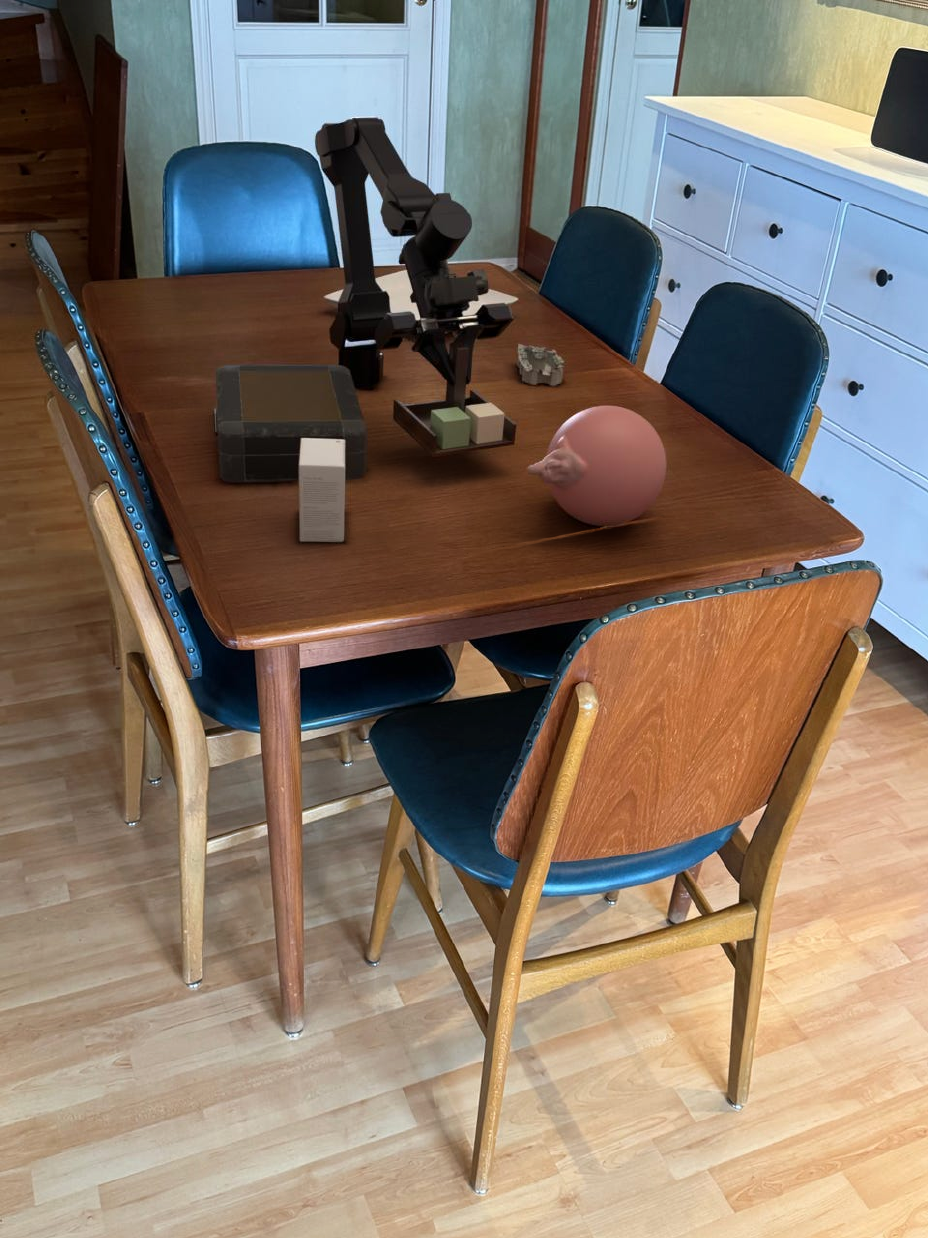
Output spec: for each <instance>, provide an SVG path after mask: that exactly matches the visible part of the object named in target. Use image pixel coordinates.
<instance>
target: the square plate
mask: <svg viewBox="0 0 928 1238" xmlns="http://www.w3.org/2000/svg"><path fill="white" fill-rule="evenodd" d="M375 279H376V282H377V284H378V285H379V286H380V288H381V289H382V291H387V293H388V295H389V297H390V310H391V312H392V313H396V312H407V311H411V312H412V313H413V314H414V315H415V319H416V320H420V315H419V312H418V308H417V305H416V303H411V299H410V295H411V294H412V292H413V291H412V287H411V284H410V280H409V277H408V273H407V270H406V269H404V270H401V271H400V270H399V271H397V272H393V273H390V274H385V275H381V276H379V277H375ZM343 289H344V288H343ZM343 289H340V290H337V291H334V292H331V293H329V294H325V295H324V296H323V299H324V300H325V301H327V302H328V304H330V305H331V306H332V307H334V308H336V309H338V301H339V299H340V296H341V294H342V292H343ZM478 298H479V301H476V302H475V301H471V302H469V305H470V307H469V308H468V310H467V311H463V312H462V313H463V316H467V315H475V313H476V312H477V311H478V310H479V309H480V307H481V306H482V305H485V304H496V303H505V304H506V305H508V306H509V307H510V306H512V305H513V304H514V303H515V302H517V301H519V298H518V297H516V296H513V295H510V294H506V293H503V292H500V291H497V290H494V289H491V288H489V291H488V293H487V294H484V295H478ZM449 333H450V332H445V335H446V334H449Z"/></svg>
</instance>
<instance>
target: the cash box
mask: <svg viewBox="0 0 928 1238" xmlns="http://www.w3.org/2000/svg"><path fill="white" fill-rule="evenodd" d="M215 382H216V383H215V385H216V386H215V387H216V404H215V408H214V409H212V422H213V434H214V435H215V436H216V437H217V447H218V463H219V464H218V466H219V476H220V478H221V479H222V480H223V482H227V483H232V484H239V483H240V484H241V483H242V484H243V483H247V484H248V483H283V482H286V483H288V482H290V483H291V482H297V481H299V455H300V442H301V438H315V439H342V440H345V480H358V479H362V478H364V477H365V476H366V473H367V459H368V457H367V456H368V455H367V454H368V428H367V425H366V422H365V417H364V415H363V411H362V408H361V405H360V401H359V398H358V394H357V390H356V387H354V384H353V380H352V377H351V374H350V370H349V369H348V368H346V367H344V366H342V365H339V364H226V365H222V366H219V368H217V369H216V373H215Z"/></svg>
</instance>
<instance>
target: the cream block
mask: <svg viewBox="0 0 928 1238" xmlns="http://www.w3.org/2000/svg"><path fill="white" fill-rule="evenodd" d="M465 414H466V415H467V416H469V417H470V418H471V421H470V433H469V438H470V439H471V440H472V441H474V442H475V443H476V444H481V443H488V442H495V441H502V435H503V425H504V415H506V414H505V412H504V411H502V410H501V409H499V408H498V407H497V406H496V405H495V404H493V403H492V402H490V403H485V404H477V405H469V406H466V407H465Z"/></svg>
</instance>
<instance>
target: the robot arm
mask: <svg viewBox="0 0 928 1238" xmlns="http://www.w3.org/2000/svg"><path fill="white" fill-rule="evenodd" d="M314 144H315V145H314V148H315V152H316V155H317V156H318V159H319V162H320V163H319V164H320V168H321V169H320V170H321V171H322V172H323V174H324V175H325V177H326V178H327V179H328V181H329V182H330V184H331V185H332V186H333V189H334V197H335V206H336V215H337V222H338V223H337V224H338V231H339V232H338V233H339V240H340V248H341V257H342V258H341V259H342V265H343V275H344V283H345V284H344V287H343V292H342V294H341V296H340V299H339V301H338V308H337V315H336V317H335V319H334V320H333V321H332V324H331V325H330V327H329V328H328V329H329V330H328V332H329V333H328V334H329V340H330V343H331V344H332V346H334V348H336V349H337V350H338V365H342V366H344V367H346V368H348V369H349V370H350V374H351V377H352V380H353V384H354V387H355V388H358V389H366V390H374V389H375V388H376V386H377V385H378V384H379V383H380V382H381V380H382V379H383V378H384V359H385V357H384V356H385V355H384V353H381V351H384V350H393V349H394V350H395V349H396V350H397V349H399V347H400V346H401V345H402V343H403V337H411V336H412V339H413V342H414V343H413V344H412V346H411V351H412V353H418V354H420V355H421V356H422V357H423V358H424V359H425V360H426V361H427V362H428V363H430V365H432V367H433V368H434V369H435V370H436V371H437V372H438V373H439V374H440V375H441V377H442V378H443V379H444V380H445V381H446V383H447V382H448V383H449V384H450V385H451V386H455V384H456V378H455V373H454V369H453V366H452V363H451V360H450V357H449V350H448V348H447V345H446V334H445V332H449V333H452V335H453V338H454V340H453V341H452V343H457V342H462V343H463V344H464V345H466V346H467V347H468V348H469V355H468V368H467V381H466V386H467V385H469V384H470V383H472V382H471V381H472V368H473V352H474V347H475V341H476V340H478V341H480V340H491V339H496V338H498V337H500V336H501V335H502V334H503V332H505V330H506V329H507V328H508V327H509V326H510V325H511V323H512V322H513V321H514V320H515V318H514V315H513V311H512V308H511V307H510V306H508V305H506V304H505V303H496V304H485V305H482V306H481V307H480V309H479V310H478V311H477V312H476V313H475V315H467V316H463V313H462V312H463V311H467V310H468V308H469V307H470V305H469V302H471V301H475V302H476V301H479V298H478V295H484V294H487V293H488V291H489V289H490V287H489V285H490V284H489V279H488V277H487V274H486V271H485V269H473V270H471V271H468V272H467V274H466V276H458V275H457V273H452V272H451V269H450V265H449V263H448V260H449V259H451V258H453V256H455V254H456V252H457V251H458V250H459V248H460V247H461V245H462V244H463V242H464V241H465V240H466V238H467V237H468V235H469V234H470V233H471V230H472V228H473V219H472V216H471V213H470V212H468V211H467V209H466V208H465V207H464V206H463V205H462V204H460V203H459V202H457V201H455V200H453V199H452V196H451V193H450V192H436V193H434V192H433V191H432V189H431V188H430V187H429V186H428V185H427V183H425V182H423V181H421V180H419V179H417V178H415V177H413V176H412V175H411V173H410V172H409V170H408V168H407V167H406V165H405V162H403V159H402V158H401V156H400V155H399V153H398V152H397V150H396V148H395V146H394V144H393V143H392V141H391V139H390V138H389V136H388V134H387V132H386V126H385V123H384V120H383V119H382V118H378V117H377V116H352V117H351V118H348V119H346V120H345V121H341V122H329V123H328V122H327V123H326V122H324V123H323V124H322V126H321V129H319V130H318V131H316V133H315V136H314ZM368 177H370V178H371V180H372V182H373V184H374V185H375V188H376V189H377V191H378V193H379V195H380V197H381V199H382V203H381V207H380V212H379V213H380V216H381V219H382V220H381V221H382V224H383V226H384V228H385V229H386V230H387V232H388V234H389V235H390V236H391V237H393V238H399V237H410V238H409V239H408V240H407V241H406V242H405V243H403V245H402V249H401V251H400V254H399V256H398V264H399V265H401V266H402V265H404V266H405V270H407V273H408V277H409V280H410V284H411V287H412V291H413V292H412V294H411V295H410V299H411V303H416V305H417V308H418V312H419V315H420V320H416V319H415V315H414V314H413V313H412V312H411V311H407V312H396V313H392V312H391V310H390V297H389V295H388V293H387V291H382V289H381V288H380V286H379V285H378V284H377V282H376V272H375V263H374V254H373V246H372V245H373V244H372V235H371V226H370V216H369V209H368V208H369V207H368V198H367V189H366V181H367V179H368Z"/></svg>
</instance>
